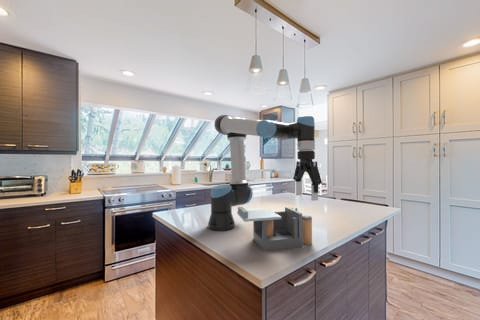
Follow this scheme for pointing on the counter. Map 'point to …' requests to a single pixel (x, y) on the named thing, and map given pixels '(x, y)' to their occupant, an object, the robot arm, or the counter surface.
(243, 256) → the counter surface
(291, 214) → the housing
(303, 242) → the pin
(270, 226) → the pin
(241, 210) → the pale blue flat panel
